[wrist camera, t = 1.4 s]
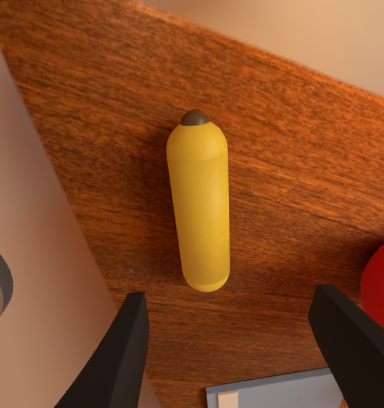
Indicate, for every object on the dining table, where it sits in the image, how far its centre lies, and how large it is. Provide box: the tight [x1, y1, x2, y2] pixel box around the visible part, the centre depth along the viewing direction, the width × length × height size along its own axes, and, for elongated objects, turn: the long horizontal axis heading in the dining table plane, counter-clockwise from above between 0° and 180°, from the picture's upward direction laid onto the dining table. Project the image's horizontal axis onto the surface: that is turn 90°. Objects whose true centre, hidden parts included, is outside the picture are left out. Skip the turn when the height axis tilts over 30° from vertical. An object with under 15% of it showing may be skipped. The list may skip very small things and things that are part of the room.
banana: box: [166, 110, 230, 292], centre depth 17 cm, size 14×4×4 cm, turn 5°
